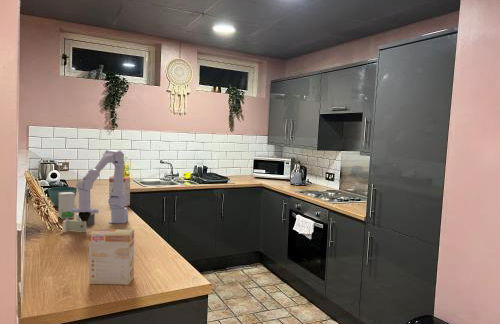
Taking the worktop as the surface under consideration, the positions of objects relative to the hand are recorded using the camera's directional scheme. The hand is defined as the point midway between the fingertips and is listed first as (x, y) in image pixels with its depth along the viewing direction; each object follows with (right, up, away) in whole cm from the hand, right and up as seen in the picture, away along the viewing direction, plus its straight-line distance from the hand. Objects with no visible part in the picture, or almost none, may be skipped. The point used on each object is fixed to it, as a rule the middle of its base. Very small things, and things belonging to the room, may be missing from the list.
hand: (84, 225), depth 205 cm
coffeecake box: (+39, -11, -63) cm, 75 cm away
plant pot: (-41, +4, +57) cm, 70 cm away
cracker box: (-4, +3, +65) cm, 65 cm away
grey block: (-3, -2, +13) cm, 14 cm away
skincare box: (-23, 0, +26) cm, 35 cm away
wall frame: (-9, -2, +4) cm, 10 cm away
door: (-3, -3, -3) cm, 5 cm away
